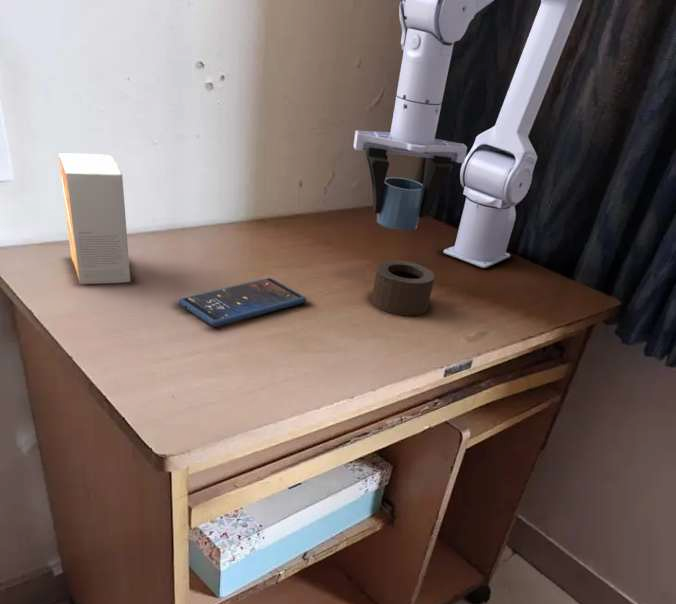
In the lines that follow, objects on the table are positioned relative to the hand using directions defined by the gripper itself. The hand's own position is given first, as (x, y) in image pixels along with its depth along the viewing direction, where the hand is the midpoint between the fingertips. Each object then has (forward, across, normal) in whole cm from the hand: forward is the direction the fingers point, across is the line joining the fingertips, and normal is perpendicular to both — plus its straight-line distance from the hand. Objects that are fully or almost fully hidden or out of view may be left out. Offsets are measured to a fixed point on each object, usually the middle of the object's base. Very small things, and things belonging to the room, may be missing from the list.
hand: (398, 213), depth 91 cm
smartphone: (+10, -21, -12) cm, 26 cm away
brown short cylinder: (+10, 0, -8) cm, 12 cm away
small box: (+10, -39, -5) cm, 41 cm away
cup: (+1, 0, 0) cm, 1 cm away
